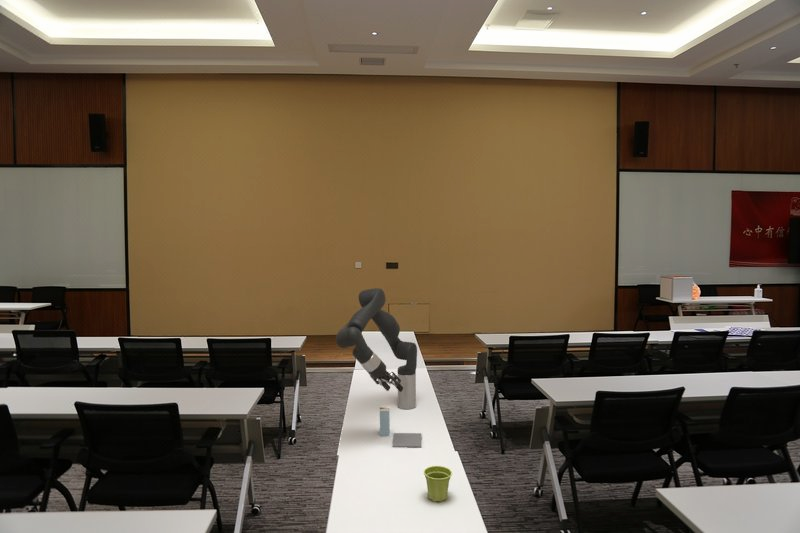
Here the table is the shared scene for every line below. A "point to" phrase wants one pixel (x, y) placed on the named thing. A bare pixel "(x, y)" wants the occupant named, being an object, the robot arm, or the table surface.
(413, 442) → the mat
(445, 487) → the plant pot
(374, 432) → the table surface
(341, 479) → the table surface
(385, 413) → the blue block
